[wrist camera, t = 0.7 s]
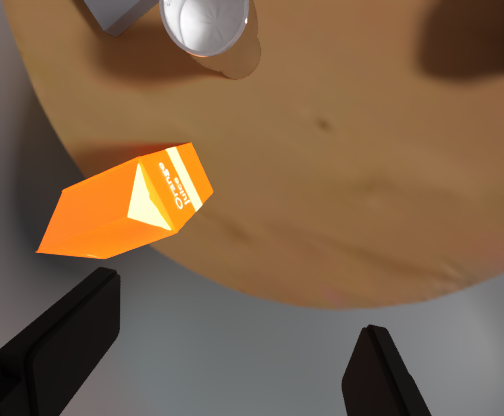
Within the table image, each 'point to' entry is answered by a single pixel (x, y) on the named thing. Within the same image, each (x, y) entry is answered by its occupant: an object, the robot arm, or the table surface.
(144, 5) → the panel
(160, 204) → the orange juice
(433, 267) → the table surface
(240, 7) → the beer glass
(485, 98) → the table surface
